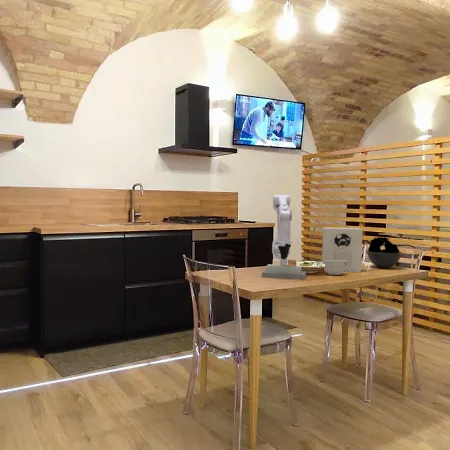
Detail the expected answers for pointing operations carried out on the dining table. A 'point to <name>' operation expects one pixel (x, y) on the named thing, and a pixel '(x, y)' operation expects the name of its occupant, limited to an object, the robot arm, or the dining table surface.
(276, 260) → the crate cream
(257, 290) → the dining table surface
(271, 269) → the grey rectangular bar
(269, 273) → the block
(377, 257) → the coal bowl
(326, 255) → the cereal box
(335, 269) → the teacup
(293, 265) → the crate terracotta
